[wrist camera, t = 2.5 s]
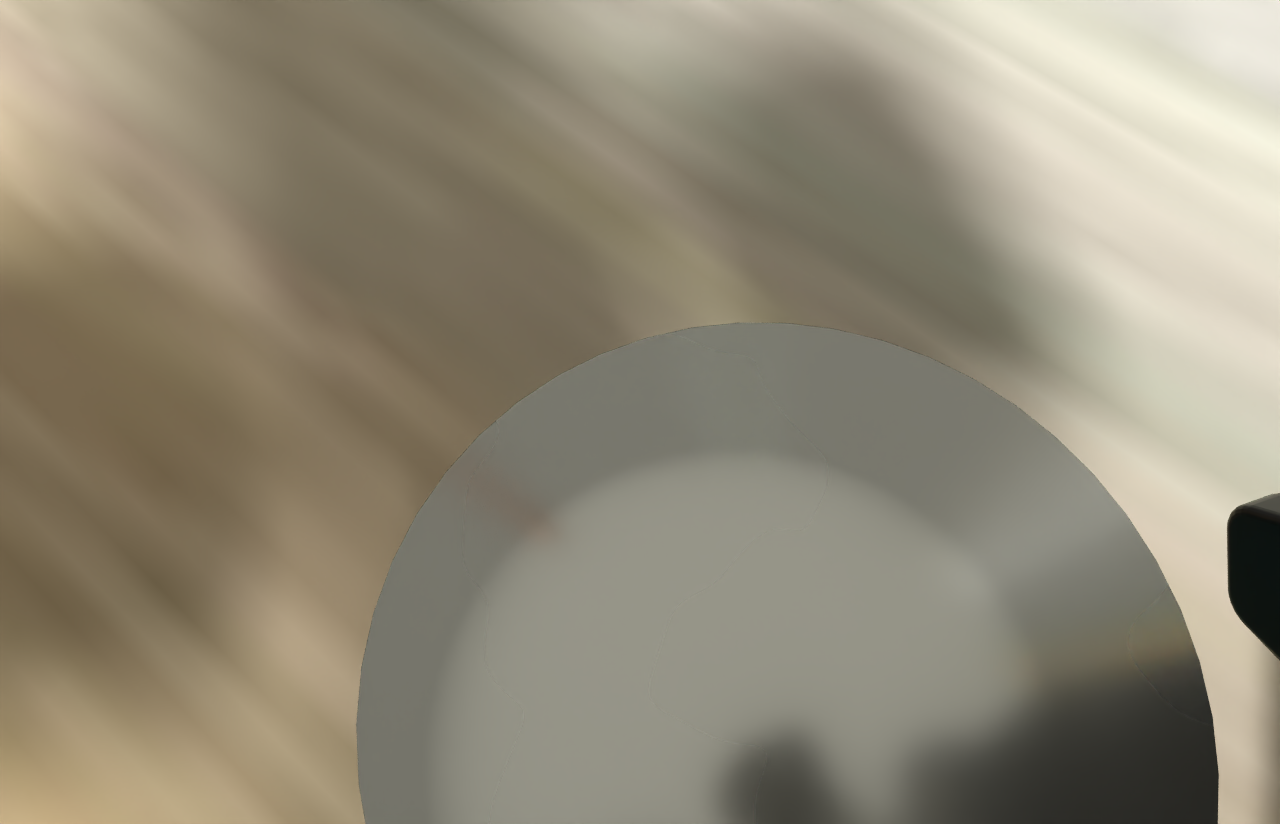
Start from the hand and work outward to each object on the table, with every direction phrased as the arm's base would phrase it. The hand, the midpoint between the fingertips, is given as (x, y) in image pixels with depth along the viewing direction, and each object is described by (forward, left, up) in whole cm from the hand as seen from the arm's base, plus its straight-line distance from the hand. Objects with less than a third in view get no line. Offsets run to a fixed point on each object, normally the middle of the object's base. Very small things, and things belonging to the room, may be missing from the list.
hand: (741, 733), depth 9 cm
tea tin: (0, 0, -8) cm, 8 cm away
